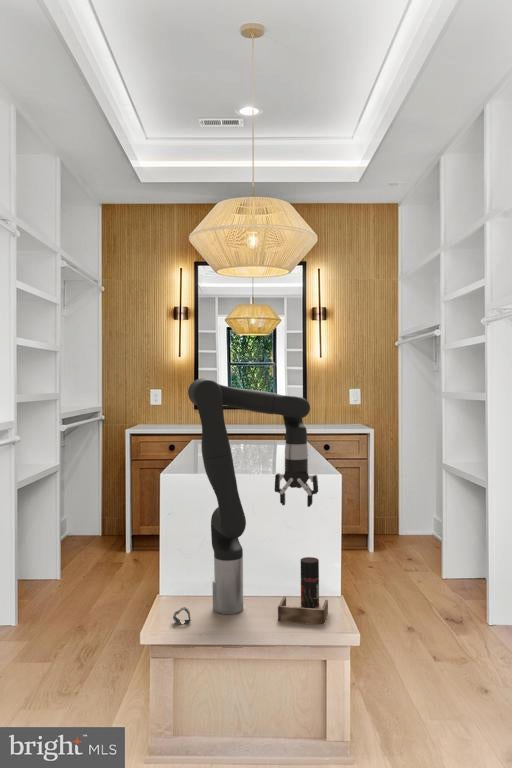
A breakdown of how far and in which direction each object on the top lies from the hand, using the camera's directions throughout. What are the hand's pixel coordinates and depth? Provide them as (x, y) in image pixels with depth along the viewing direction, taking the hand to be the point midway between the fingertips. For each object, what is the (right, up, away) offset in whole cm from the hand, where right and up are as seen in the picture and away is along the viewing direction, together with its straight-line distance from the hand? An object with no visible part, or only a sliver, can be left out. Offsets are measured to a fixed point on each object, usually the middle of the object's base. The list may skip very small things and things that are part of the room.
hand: (296, 505), depth 218 cm
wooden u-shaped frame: (+1, -33, -13) cm, 35 cm away
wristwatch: (-36, -33, -16) cm, 52 cm away
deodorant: (+4, -32, -3) cm, 33 cm away
